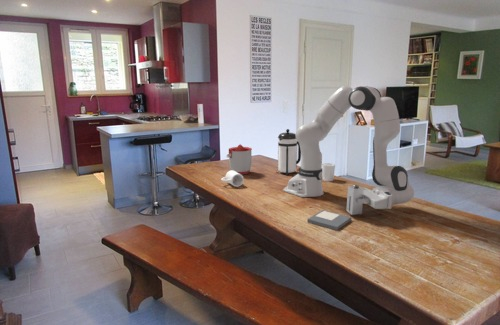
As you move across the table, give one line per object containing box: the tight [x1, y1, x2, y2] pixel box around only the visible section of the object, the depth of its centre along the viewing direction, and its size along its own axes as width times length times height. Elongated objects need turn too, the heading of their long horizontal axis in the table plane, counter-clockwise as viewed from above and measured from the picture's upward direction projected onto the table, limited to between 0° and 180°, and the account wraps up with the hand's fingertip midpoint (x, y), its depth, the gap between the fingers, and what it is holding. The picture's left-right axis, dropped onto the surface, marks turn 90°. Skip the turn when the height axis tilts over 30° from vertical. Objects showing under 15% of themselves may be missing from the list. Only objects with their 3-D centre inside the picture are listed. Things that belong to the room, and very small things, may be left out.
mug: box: [221, 169, 245, 188], centre depth 207 cm, size 12×10×8 cm
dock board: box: [307, 209, 352, 231], centre depth 152 cm, size 14×14×2 cm
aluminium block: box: [345, 184, 365, 216], centre depth 157 cm, size 5×5×13 cm
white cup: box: [322, 162, 336, 182], centre depth 216 cm, size 8×8×10 cm
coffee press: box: [276, 128, 301, 177], centre depth 233 cm, size 17×16×30 cm
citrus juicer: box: [226, 143, 253, 176], centre depth 233 cm, size 16×17×20 cm
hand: (353, 198), depth 157 cm, fingers closed on aluminium block, 5 cm apart
